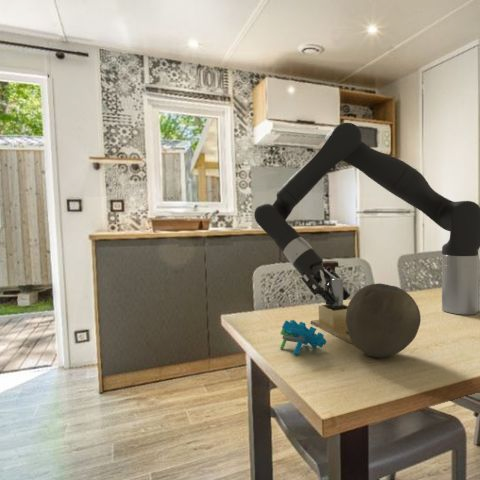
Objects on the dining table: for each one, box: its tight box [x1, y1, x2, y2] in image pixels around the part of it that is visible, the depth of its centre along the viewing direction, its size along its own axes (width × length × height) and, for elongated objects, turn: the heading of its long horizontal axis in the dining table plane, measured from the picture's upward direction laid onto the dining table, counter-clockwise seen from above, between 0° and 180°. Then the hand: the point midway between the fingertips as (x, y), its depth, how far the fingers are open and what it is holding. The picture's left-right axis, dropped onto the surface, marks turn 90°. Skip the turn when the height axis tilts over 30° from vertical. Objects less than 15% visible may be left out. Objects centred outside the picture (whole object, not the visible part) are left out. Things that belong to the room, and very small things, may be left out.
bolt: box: [322, 260, 339, 305], centre depth 115 cm, size 6×5×15 cm
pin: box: [329, 277, 344, 310], centre depth 94 cm, size 4×4×12 cm
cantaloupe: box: [346, 282, 421, 359], centre depth 73 cm, size 14×14×15 cm
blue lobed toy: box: [279, 319, 327, 356], centre depth 76 cm, size 11×6×10 cm
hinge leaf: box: [310, 303, 354, 345], centre depth 91 cm, size 12×18×5 cm, turn 20°
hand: (341, 300), depth 93 cm, fingers open, 8 cm apart
